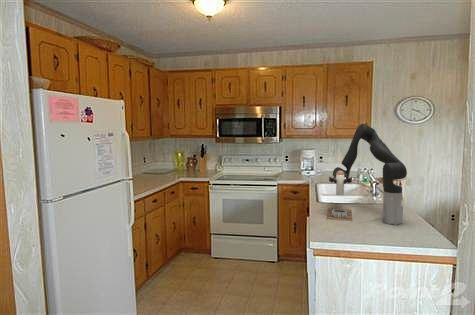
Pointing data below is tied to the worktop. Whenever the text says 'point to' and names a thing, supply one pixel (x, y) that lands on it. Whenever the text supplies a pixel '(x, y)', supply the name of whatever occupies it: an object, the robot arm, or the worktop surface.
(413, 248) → the worktop surface
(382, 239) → the worktop surface
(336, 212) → the socket collar
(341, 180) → the cylinder
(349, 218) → the jig board
